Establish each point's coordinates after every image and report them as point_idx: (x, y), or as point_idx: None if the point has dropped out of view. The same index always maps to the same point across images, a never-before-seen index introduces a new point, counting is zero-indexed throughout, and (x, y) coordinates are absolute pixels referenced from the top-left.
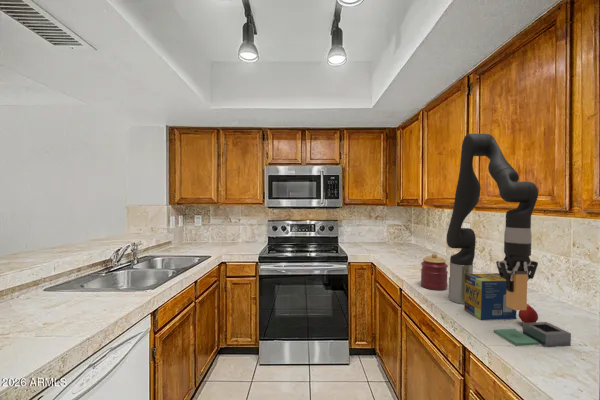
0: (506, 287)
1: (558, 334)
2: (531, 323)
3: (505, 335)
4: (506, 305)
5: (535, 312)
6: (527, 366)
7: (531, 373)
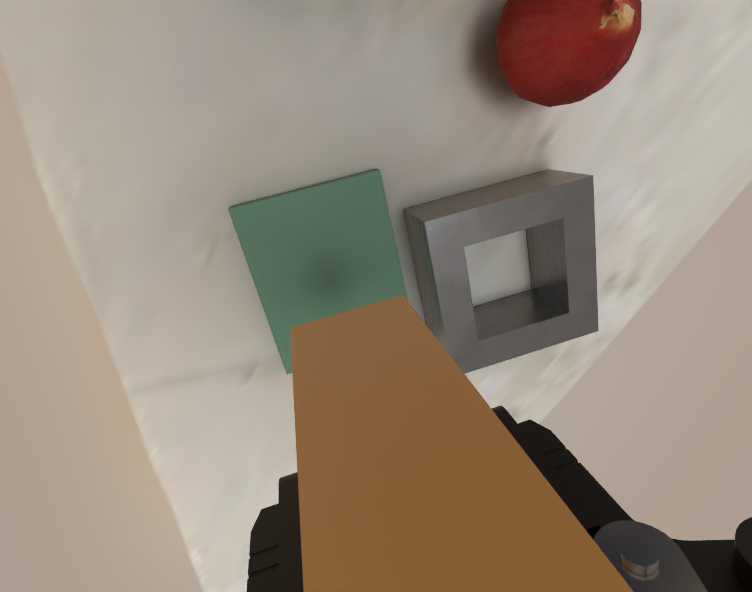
0: (255, 548)
1: (525, 353)
2: (476, 223)
3: (272, 286)
4: (291, 332)
5: (613, 76)
6: (247, 529)
7: (238, 570)
